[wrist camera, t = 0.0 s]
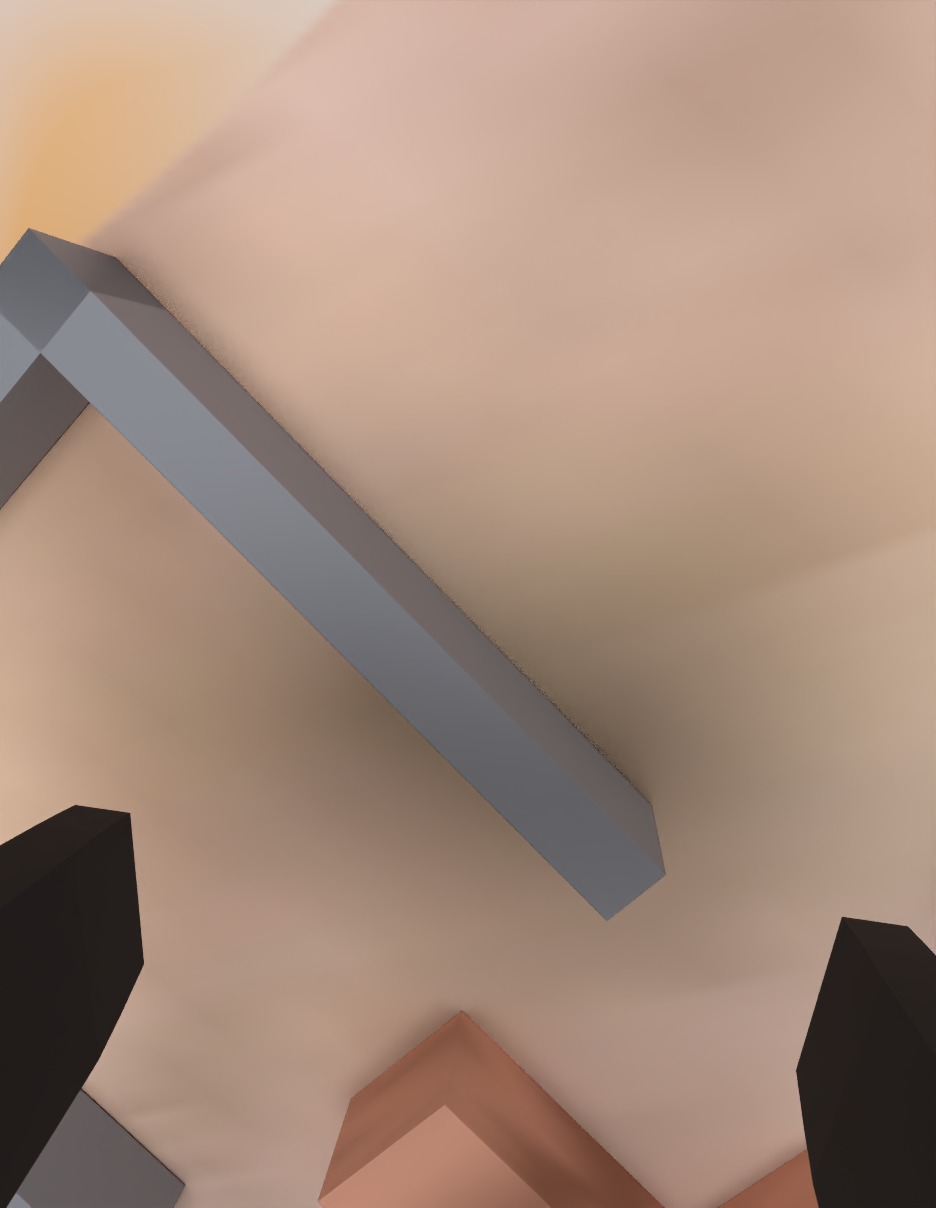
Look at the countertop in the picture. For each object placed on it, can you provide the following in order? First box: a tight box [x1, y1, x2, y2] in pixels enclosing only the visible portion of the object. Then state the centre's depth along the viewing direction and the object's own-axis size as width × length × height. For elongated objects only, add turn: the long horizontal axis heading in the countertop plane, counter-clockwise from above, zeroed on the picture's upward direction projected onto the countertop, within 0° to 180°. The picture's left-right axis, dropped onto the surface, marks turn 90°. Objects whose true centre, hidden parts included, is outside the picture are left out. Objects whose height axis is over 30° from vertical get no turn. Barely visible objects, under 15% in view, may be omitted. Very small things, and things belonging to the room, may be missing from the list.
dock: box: [0, 228, 666, 1208], centre depth 20 cm, size 18×16×3 cm
